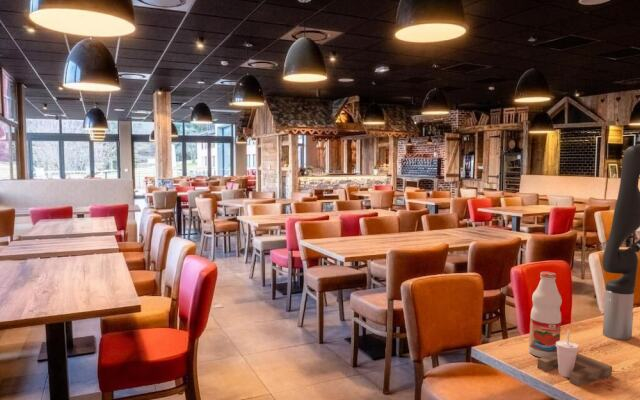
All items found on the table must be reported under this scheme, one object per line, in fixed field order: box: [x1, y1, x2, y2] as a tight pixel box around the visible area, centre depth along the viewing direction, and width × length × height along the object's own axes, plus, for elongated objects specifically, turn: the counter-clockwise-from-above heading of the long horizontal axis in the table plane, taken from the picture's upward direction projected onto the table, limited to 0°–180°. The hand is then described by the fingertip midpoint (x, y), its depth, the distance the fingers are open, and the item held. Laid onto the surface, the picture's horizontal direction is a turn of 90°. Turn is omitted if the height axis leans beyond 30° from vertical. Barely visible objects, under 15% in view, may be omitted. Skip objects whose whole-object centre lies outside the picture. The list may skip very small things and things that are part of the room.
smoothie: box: [556, 330, 580, 378], centre depth 150 cm, size 6×6×14 cm
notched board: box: [536, 352, 613, 387], centre depth 153 cm, size 16×14×3 cm
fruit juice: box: [528, 271, 563, 358], centre depth 166 cm, size 9×9×28 cm
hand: (625, 255), depth 153 cm, fingers open, 8 cm apart
